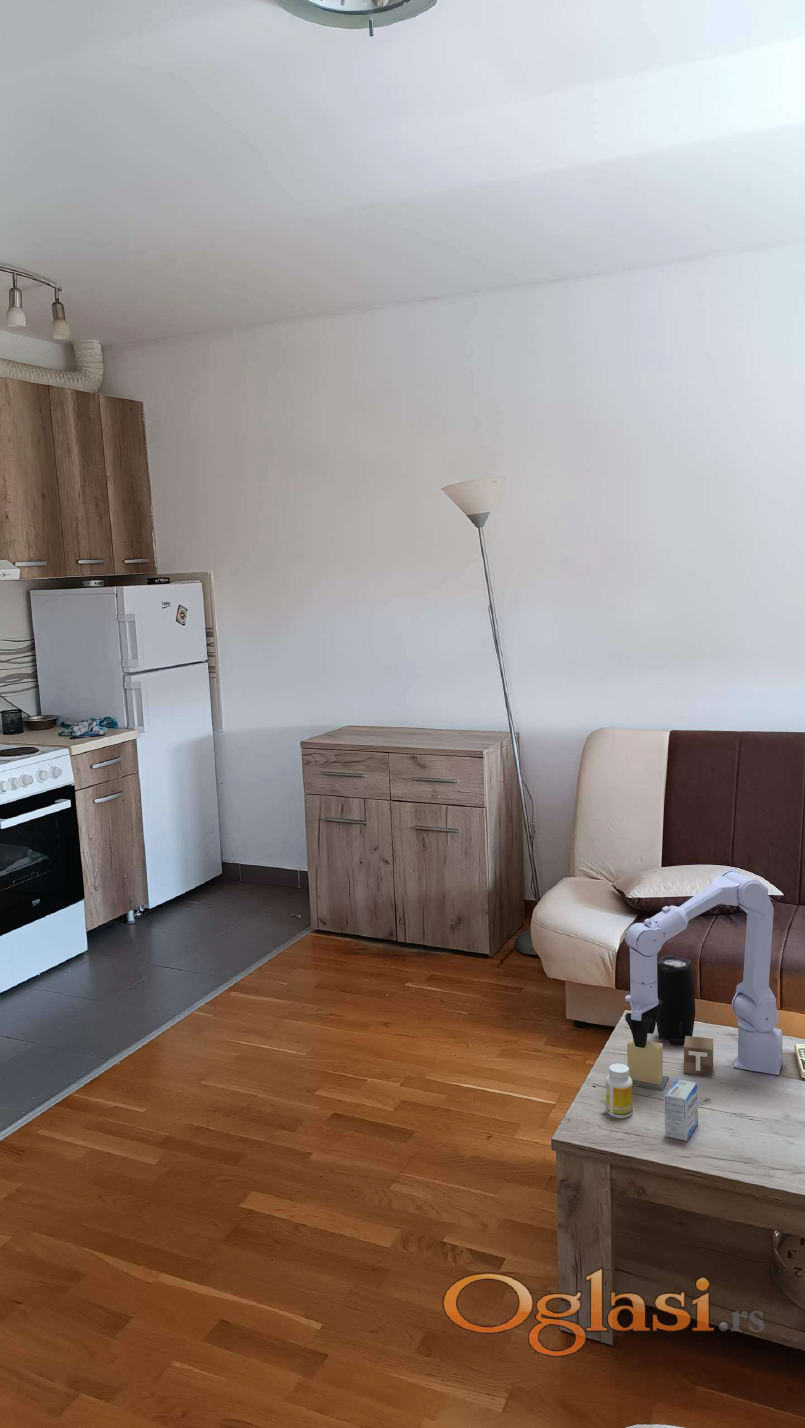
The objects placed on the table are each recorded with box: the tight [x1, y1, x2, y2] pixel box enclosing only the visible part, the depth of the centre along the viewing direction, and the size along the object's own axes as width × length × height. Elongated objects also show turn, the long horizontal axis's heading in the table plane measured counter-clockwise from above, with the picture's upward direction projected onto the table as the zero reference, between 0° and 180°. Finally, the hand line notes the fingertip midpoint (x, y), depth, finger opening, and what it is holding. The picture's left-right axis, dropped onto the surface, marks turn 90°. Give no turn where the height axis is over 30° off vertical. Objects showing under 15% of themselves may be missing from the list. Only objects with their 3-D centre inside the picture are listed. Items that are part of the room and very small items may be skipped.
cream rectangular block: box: [626, 1037, 664, 1085], centre depth 215 cm, size 7×3×8 cm, turn 62°
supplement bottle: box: [605, 1063, 634, 1119], centre depth 202 cm, size 5×5×10 cm
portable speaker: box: [656, 954, 696, 1047], centre depth 234 cm, size 9×9×20 cm
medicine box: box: [664, 1078, 699, 1142], centre depth 194 cm, size 8×4×9 cm, turn 148°
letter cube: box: [683, 1035, 714, 1077], centre depth 220 cm, size 6×6×6 cm
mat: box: [632, 1075, 670, 1092], centre depth 215 cm, size 9×6×1 cm, turn 63°
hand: (644, 1039), depth 214 cm, fingers open, 7 cm apart
